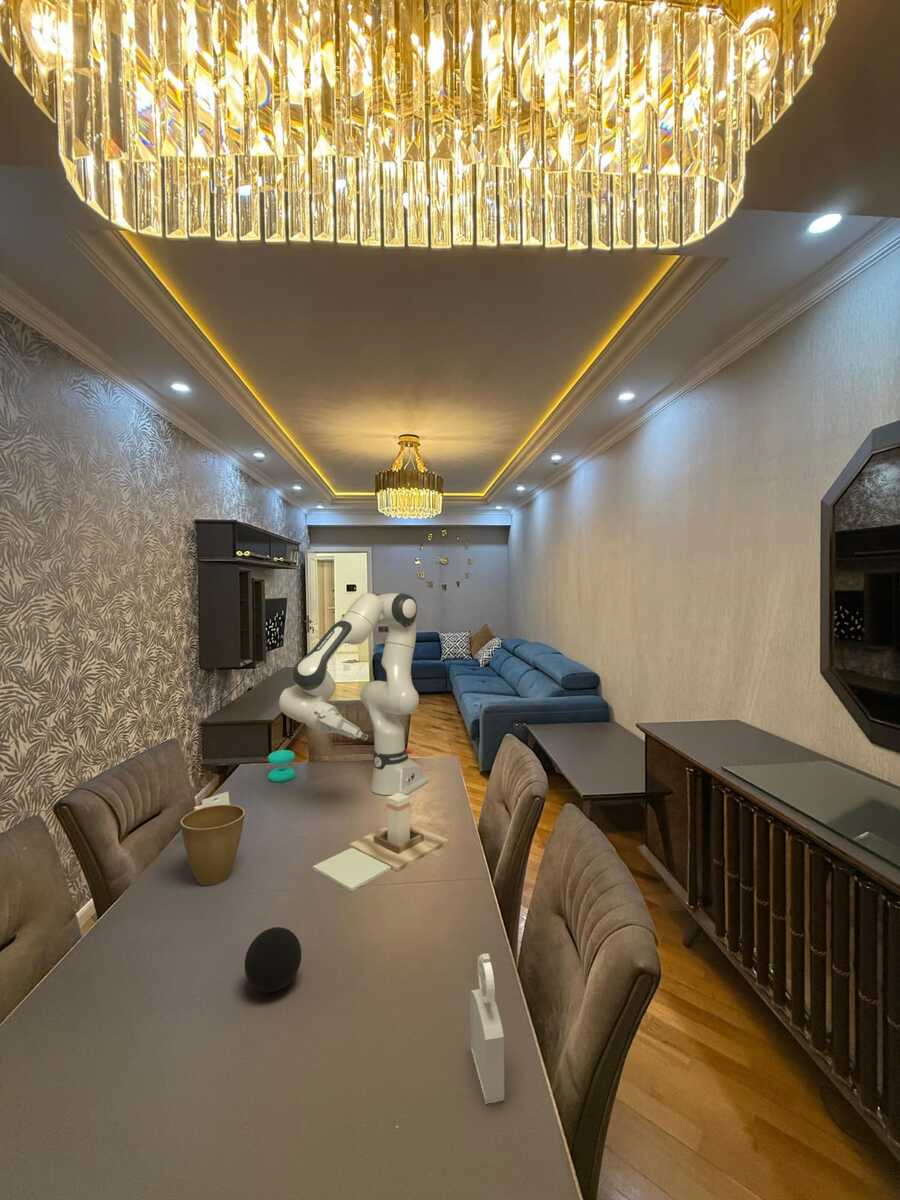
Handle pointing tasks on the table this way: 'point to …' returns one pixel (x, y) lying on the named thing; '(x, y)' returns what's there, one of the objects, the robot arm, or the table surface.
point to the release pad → (351, 869)
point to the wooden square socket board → (399, 847)
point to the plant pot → (212, 841)
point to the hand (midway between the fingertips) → (362, 735)
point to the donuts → (281, 772)
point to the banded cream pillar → (398, 818)
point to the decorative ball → (273, 959)
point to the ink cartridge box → (215, 801)
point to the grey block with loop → (487, 1034)
